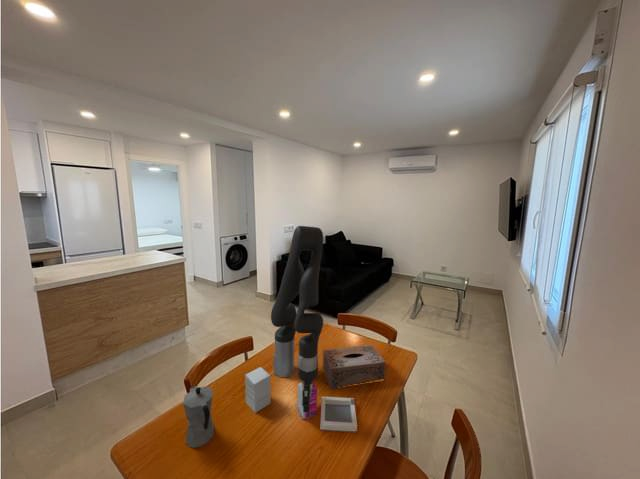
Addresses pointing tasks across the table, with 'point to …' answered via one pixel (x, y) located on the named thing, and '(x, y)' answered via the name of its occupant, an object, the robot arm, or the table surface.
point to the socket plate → (338, 414)
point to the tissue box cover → (352, 365)
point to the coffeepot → (198, 416)
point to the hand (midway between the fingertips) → (307, 403)
